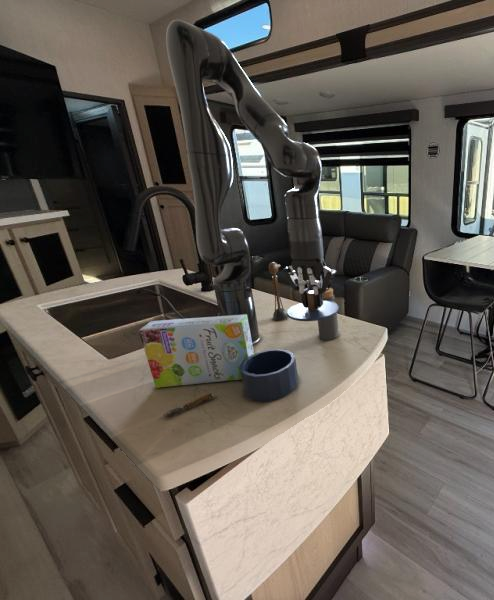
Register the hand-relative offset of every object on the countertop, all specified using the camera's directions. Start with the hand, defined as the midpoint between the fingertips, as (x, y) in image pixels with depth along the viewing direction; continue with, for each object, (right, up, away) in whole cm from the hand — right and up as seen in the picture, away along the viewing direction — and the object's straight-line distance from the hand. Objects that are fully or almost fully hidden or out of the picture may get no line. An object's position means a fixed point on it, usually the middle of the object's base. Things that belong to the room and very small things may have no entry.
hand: (313, 306), depth 79 cm
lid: (0, -1, 0) cm, 1 cm away
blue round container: (-8, -18, -5) cm, 21 cm away
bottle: (0, -10, +19) cm, 21 cm away
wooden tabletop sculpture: (-20, -5, +33) cm, 39 cm away
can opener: (-23, -21, -12) cm, 33 cm away
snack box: (-25, -17, -2) cm, 30 cm away
